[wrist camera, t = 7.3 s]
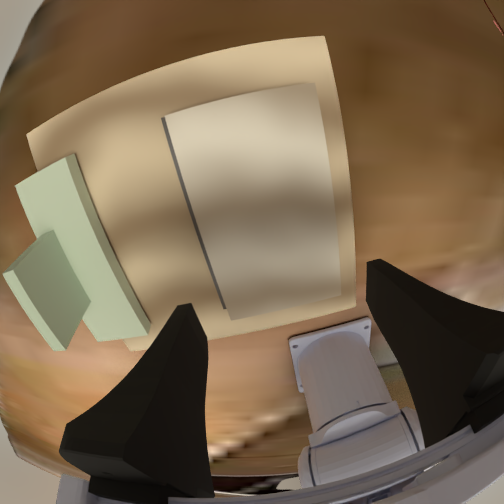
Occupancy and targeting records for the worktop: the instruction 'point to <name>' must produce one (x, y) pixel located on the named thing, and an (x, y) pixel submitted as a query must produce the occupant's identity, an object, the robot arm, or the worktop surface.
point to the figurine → (494, 18)
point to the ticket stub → (70, 263)
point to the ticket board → (155, 188)
